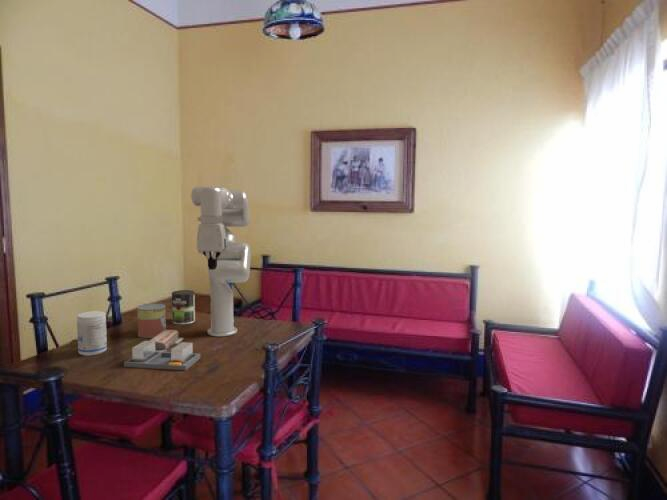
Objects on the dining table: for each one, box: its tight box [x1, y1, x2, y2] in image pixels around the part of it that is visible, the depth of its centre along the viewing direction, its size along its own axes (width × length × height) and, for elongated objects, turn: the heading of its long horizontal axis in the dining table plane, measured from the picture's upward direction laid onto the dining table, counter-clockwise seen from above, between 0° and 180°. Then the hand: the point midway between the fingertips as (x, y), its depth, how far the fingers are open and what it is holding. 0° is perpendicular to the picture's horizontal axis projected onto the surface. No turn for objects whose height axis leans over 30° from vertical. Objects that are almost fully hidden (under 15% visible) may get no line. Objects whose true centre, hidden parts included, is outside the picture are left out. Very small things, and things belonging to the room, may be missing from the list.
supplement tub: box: [76, 310, 108, 357], centre depth 168 cm, size 10×10×15 cm
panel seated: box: [131, 340, 156, 362], centre depth 157 cm, size 8×4×6 cm, turn 173°
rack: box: [123, 351, 201, 371], centre depth 157 cm, size 12×22×3 cm, turn 83°
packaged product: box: [148, 329, 184, 352], centre depth 176 cm, size 18×5×10 cm
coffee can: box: [171, 289, 196, 325], centre depth 210 cm, size 10×10×14 cm
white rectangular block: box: [170, 341, 194, 365], centre depth 156 cm, size 8×4×6 cm, turn 172°
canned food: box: [136, 302, 167, 339], centre depth 191 cm, size 11×11×12 cm
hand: (212, 269), depth 169 cm, fingers closed
